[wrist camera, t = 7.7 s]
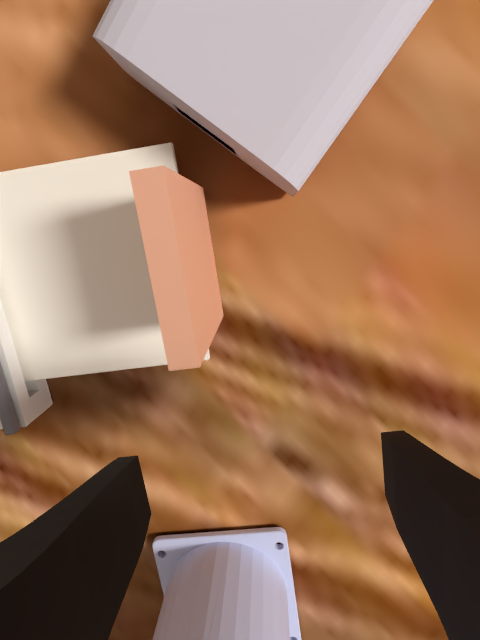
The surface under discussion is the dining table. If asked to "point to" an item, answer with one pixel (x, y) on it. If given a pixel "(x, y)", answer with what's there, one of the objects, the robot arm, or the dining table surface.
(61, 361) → the cream boxy piece
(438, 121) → the dining table surface
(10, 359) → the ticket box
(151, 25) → the charger
